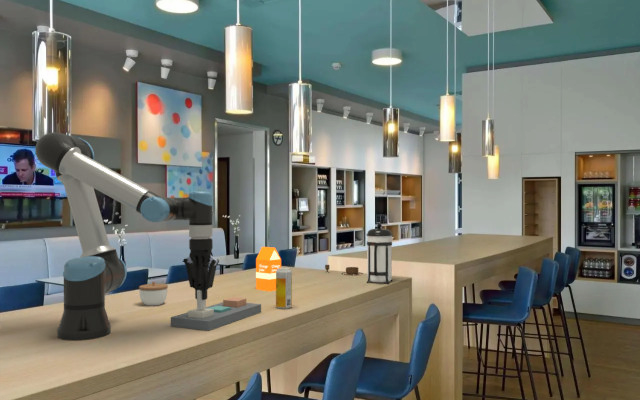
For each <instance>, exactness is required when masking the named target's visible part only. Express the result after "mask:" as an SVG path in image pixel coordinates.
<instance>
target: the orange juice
mask: <svg viewBox="0 0 640 400" xmlns="http://www.w3.org/2000/svg"><path fill="white" fill-rule="evenodd" d="M278 268H282V258H281V256H280V254H279V253H278V251H277V249H276V247H274V246H273V247H270V246H261V248H260V249H259V253H258V254H257V256H256V258H255V270H256V271H255V289H256V290H259V291H265V292H274V291H275V292H276V271H277V269H278Z"/></svg>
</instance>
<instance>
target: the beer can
mask: <svg viewBox="0 0 640 400" xmlns="http://www.w3.org/2000/svg"><path fill="white" fill-rule="evenodd" d="M292 273H293V272H292V269H291V268H289V267H281V268H278V269H277V271H276V290H275V306H276V308H277V309H279V310H280V309H281V310H288V309H291V308H292V306H293V299H292V298H293V294H292V293H293V285H292V283H293V282H292V281H293V278H292V277H293V274H292Z"/></svg>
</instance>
